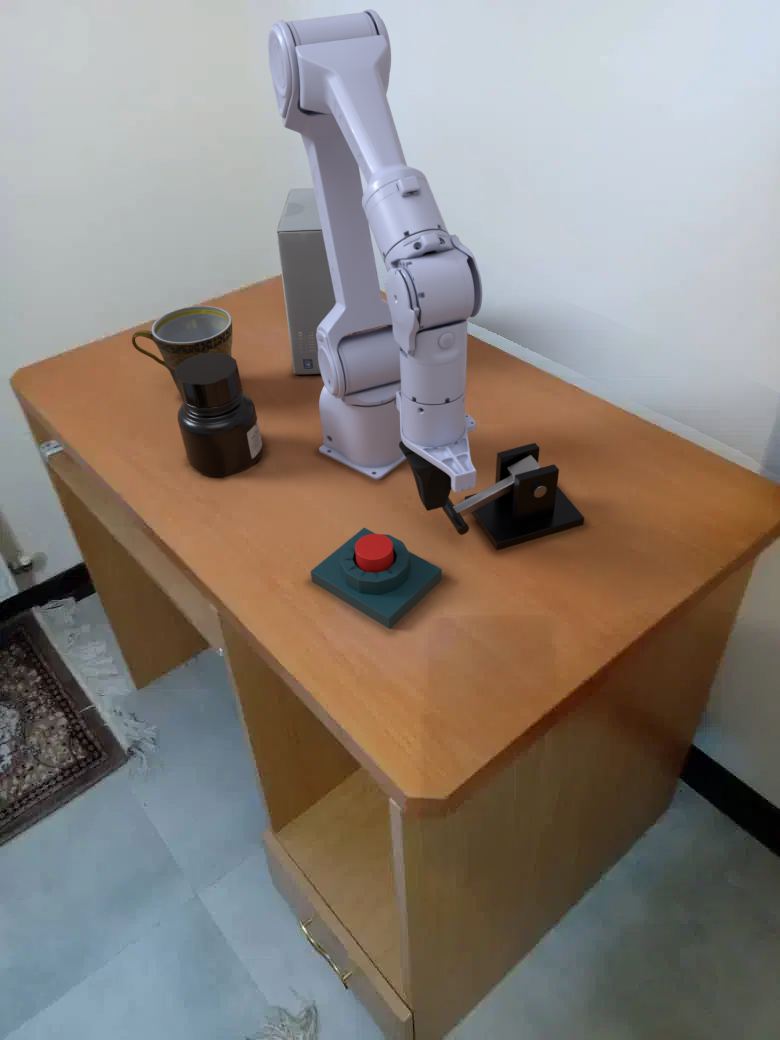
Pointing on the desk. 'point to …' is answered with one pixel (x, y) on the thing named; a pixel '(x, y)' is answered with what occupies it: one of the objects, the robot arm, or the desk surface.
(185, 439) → the ink bottle
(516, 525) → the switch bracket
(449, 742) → the desk surface
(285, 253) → the hard drive box
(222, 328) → the ceramic cup
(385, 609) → the button box
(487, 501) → the switch lever
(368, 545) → the power button
